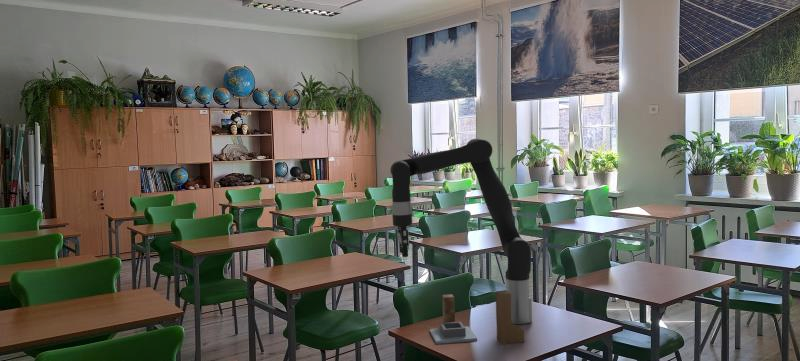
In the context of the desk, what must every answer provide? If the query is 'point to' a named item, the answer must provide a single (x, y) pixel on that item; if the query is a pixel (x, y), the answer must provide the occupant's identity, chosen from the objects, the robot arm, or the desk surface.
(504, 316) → the wooden block
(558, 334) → the desk surface
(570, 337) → the desk surface
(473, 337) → the socket board
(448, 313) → the walnut peg
